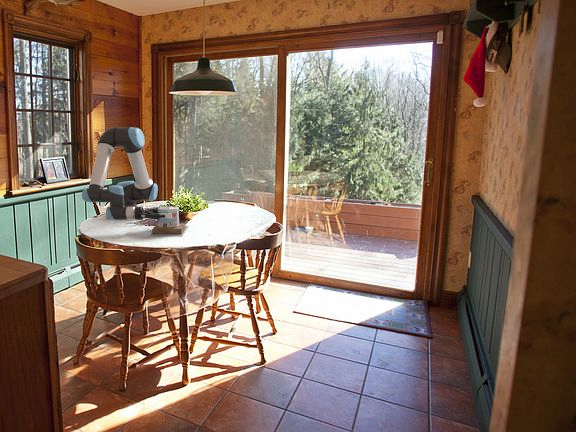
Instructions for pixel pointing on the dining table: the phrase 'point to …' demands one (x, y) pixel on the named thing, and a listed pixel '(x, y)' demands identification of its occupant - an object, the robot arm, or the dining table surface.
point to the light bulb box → (169, 221)
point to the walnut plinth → (169, 229)
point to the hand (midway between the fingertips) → (173, 213)
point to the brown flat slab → (168, 234)
